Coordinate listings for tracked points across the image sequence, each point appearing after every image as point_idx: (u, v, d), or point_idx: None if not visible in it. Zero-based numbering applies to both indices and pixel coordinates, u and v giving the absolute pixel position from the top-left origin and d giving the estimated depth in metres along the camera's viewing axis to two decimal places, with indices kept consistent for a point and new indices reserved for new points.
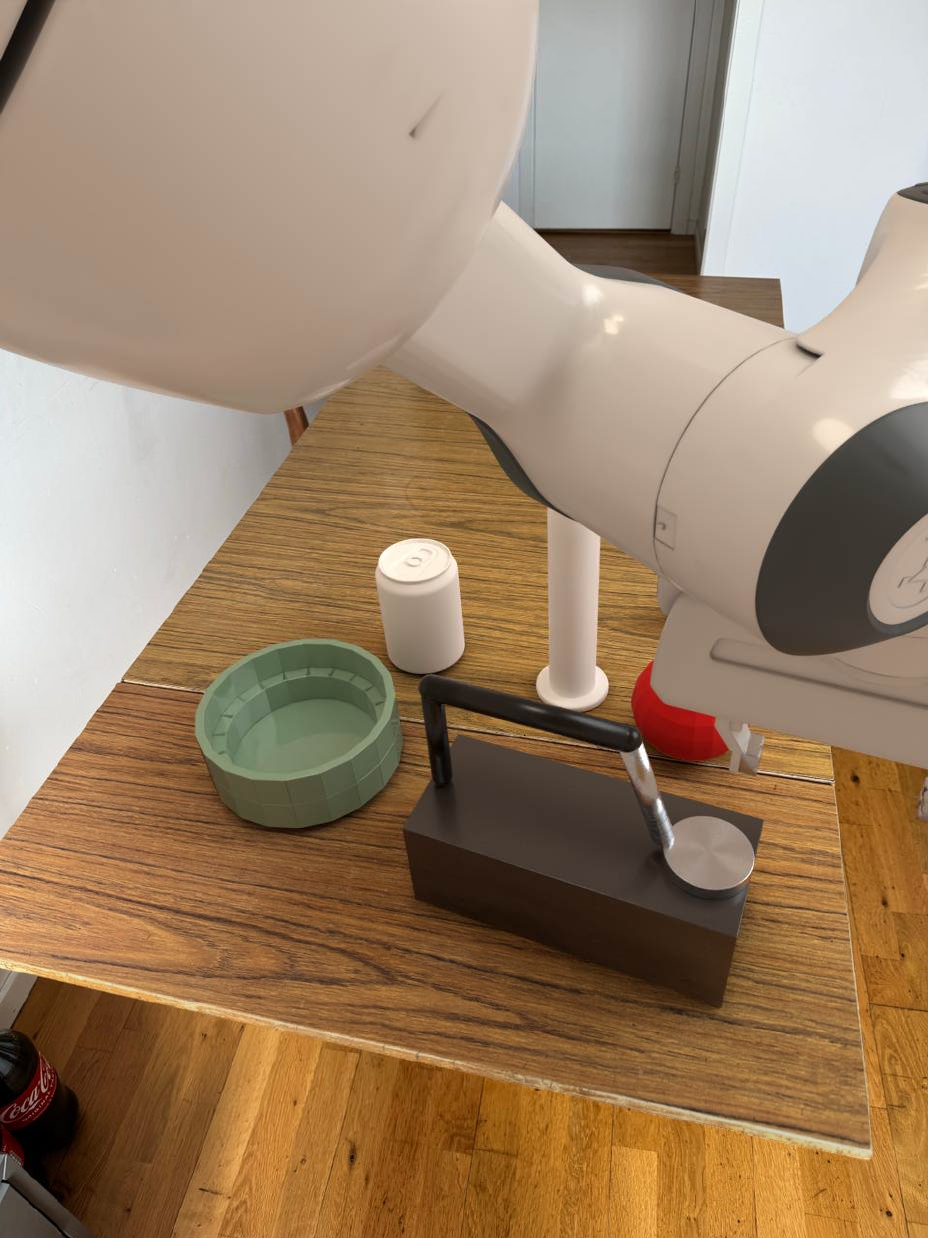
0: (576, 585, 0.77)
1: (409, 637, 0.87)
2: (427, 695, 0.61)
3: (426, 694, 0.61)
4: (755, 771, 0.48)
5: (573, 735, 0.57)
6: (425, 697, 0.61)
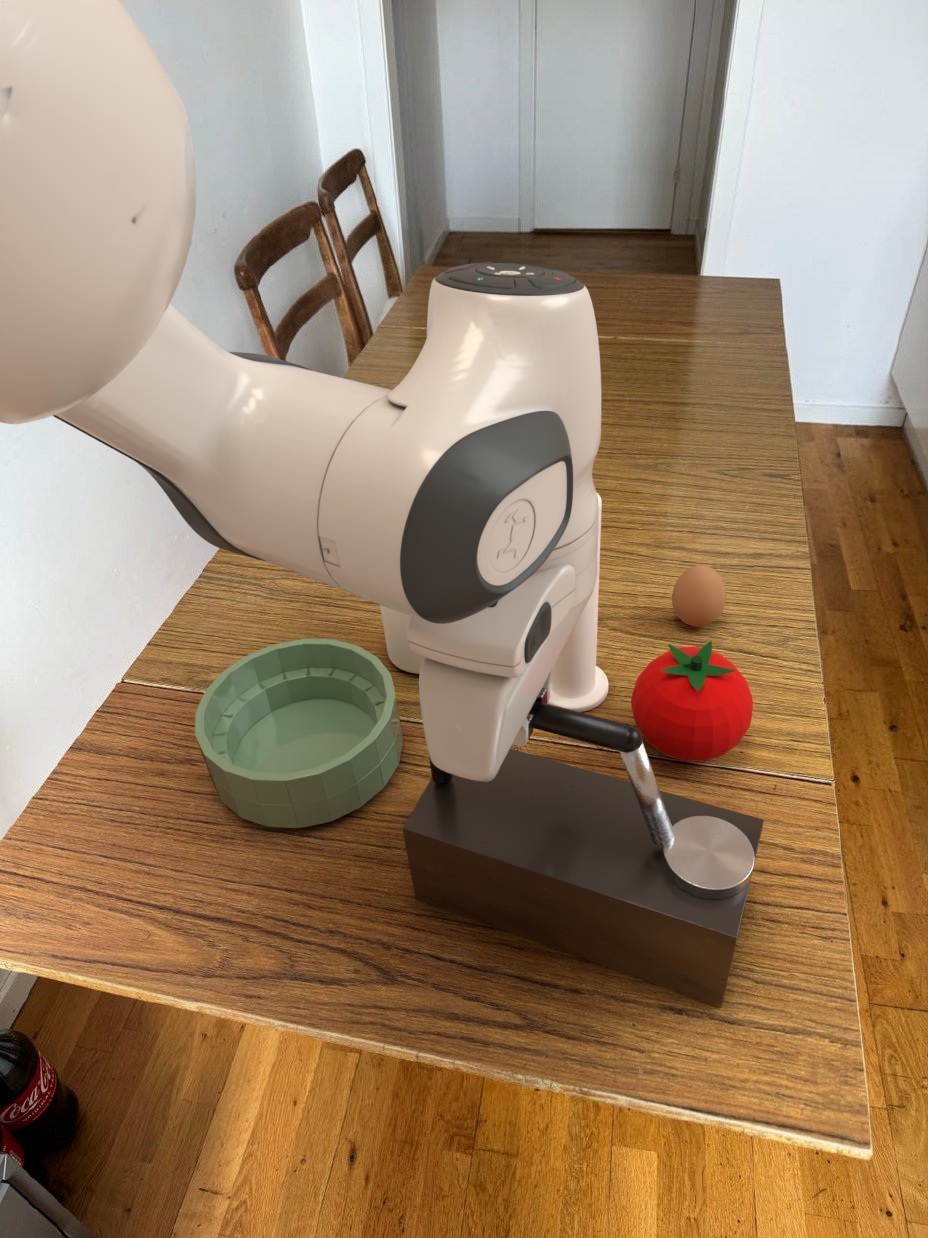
0: None
1: None
2: None
3: None
4: None
5: (573, 735, 0.57)
6: None
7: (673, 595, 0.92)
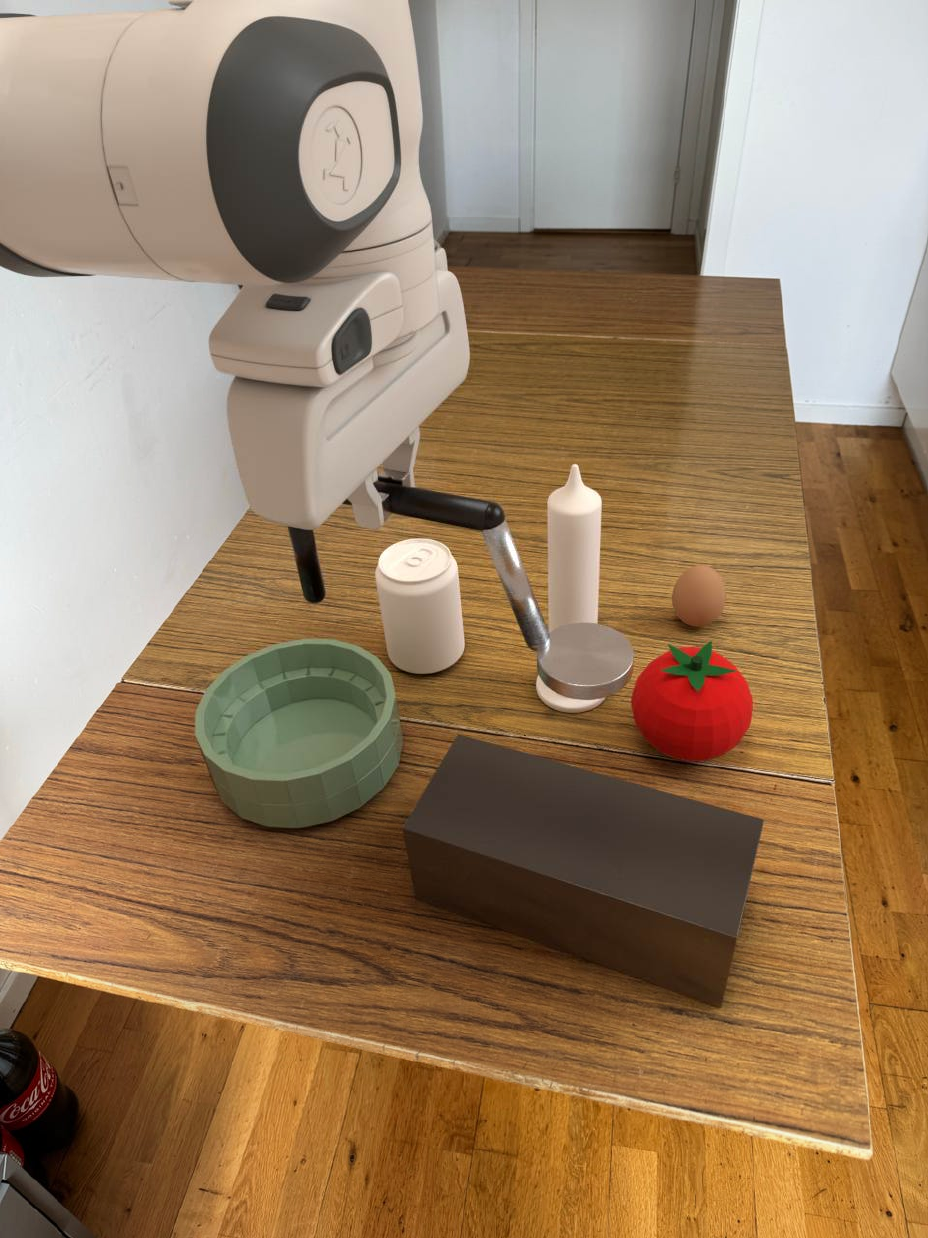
0: (576, 585, 0.77)
1: (409, 637, 0.87)
2: None
3: None
4: None
5: (431, 514, 0.53)
6: None
7: (673, 595, 0.92)
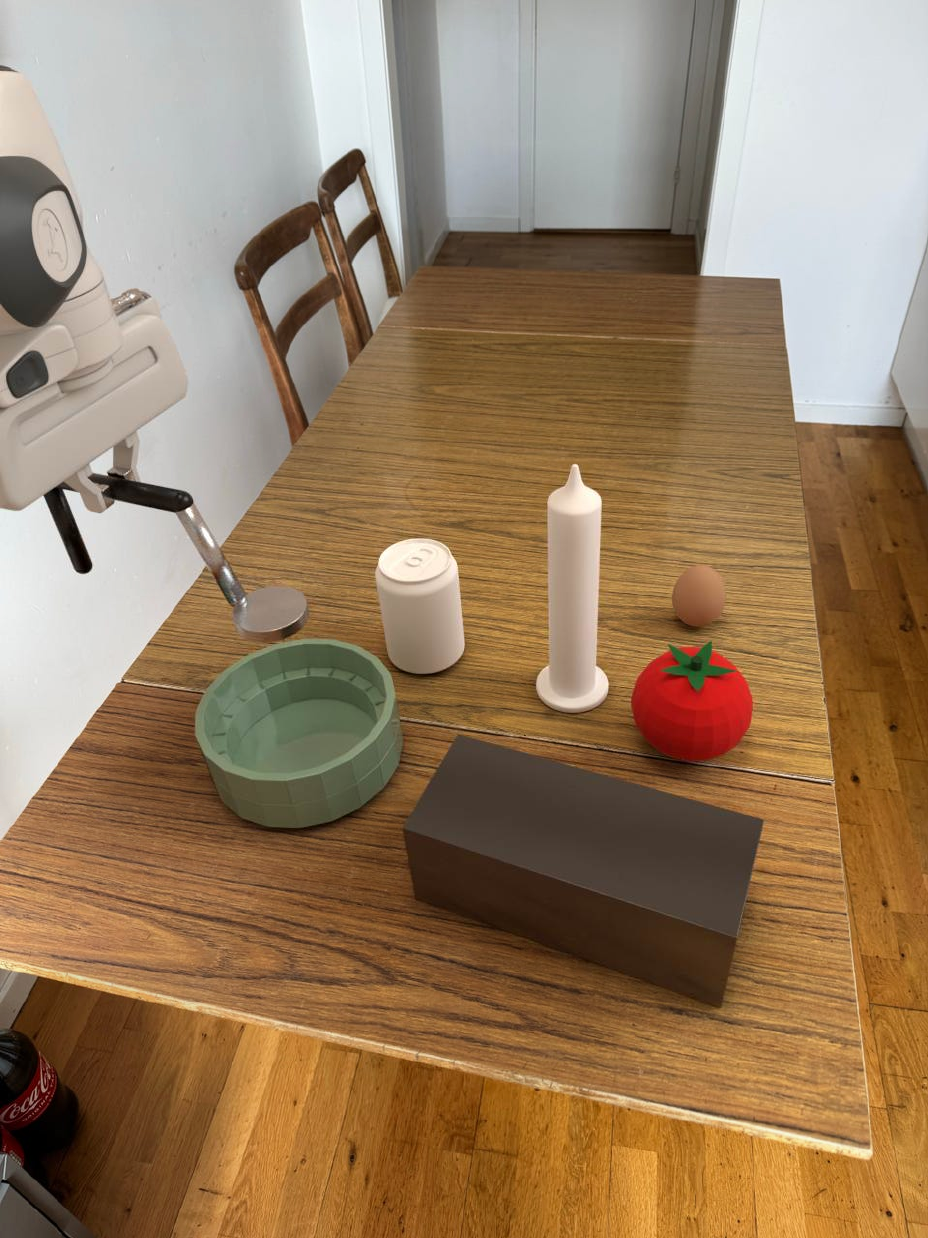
0: (576, 585, 0.77)
1: (409, 637, 0.87)
2: None
3: None
4: None
5: (139, 501, 0.69)
6: None
7: (673, 595, 0.92)
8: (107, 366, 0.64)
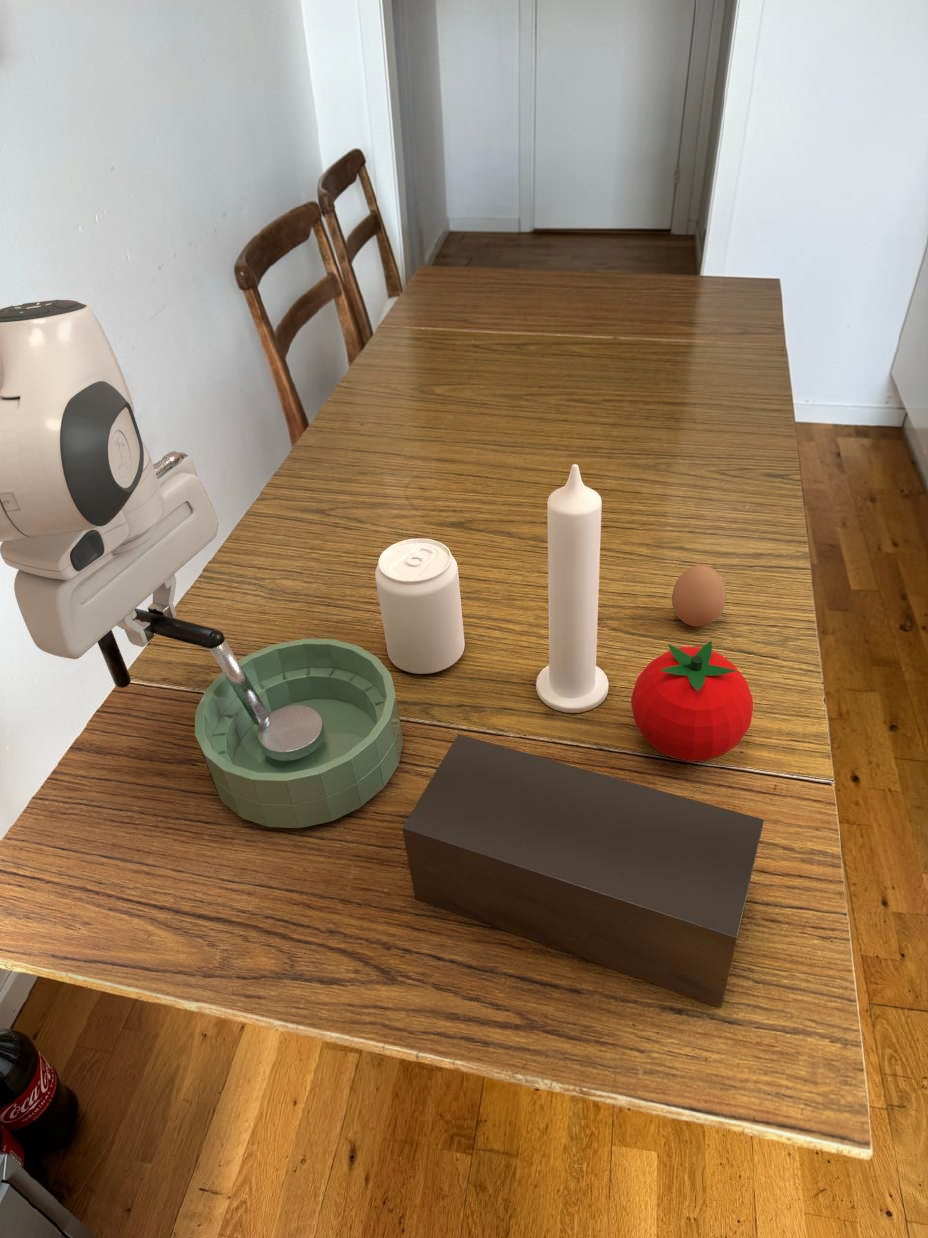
0: (576, 585, 0.77)
1: (409, 637, 0.87)
2: None
3: None
4: None
5: (177, 637, 0.79)
6: None
7: (673, 595, 0.92)
8: (151, 528, 0.74)
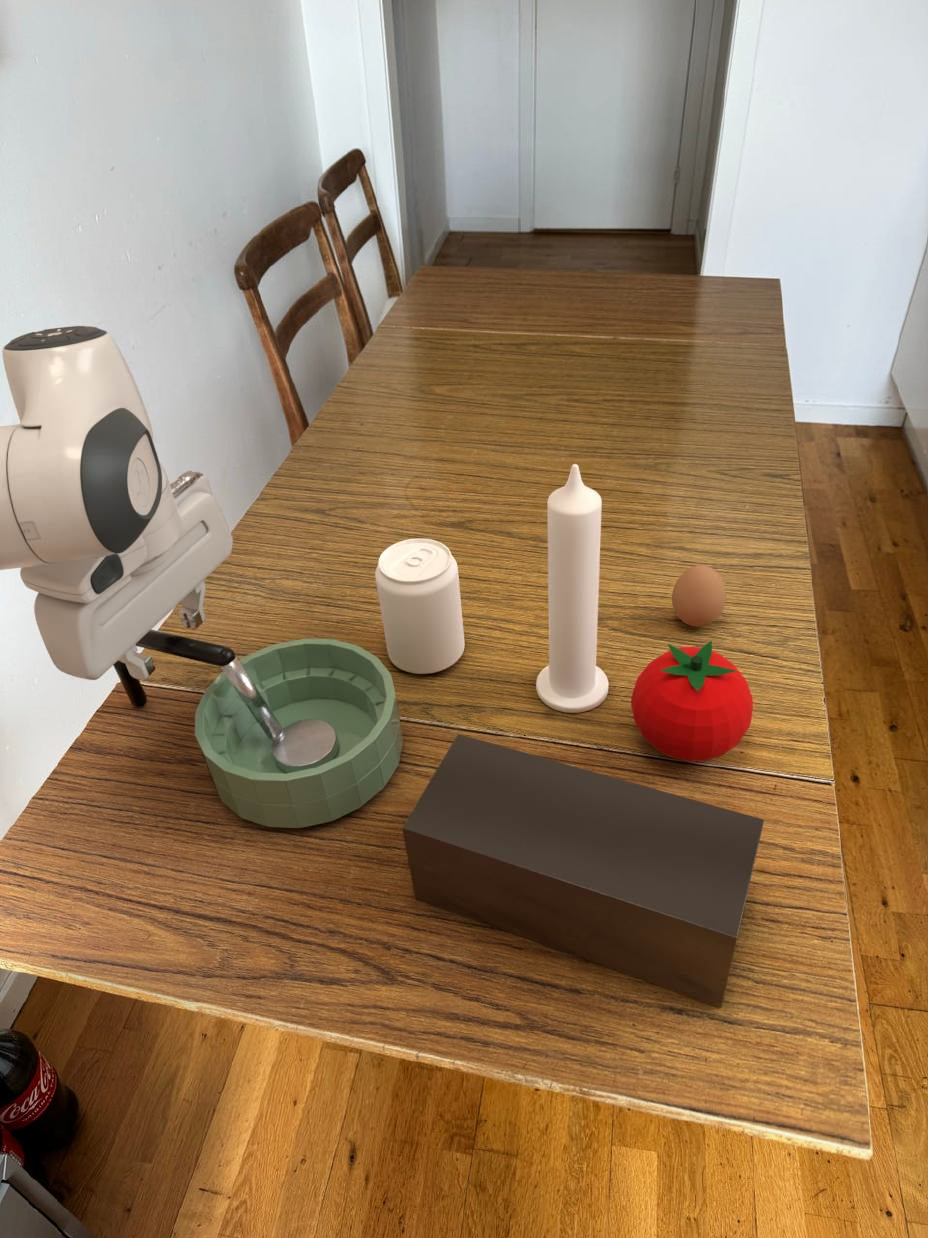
0: (576, 585, 0.77)
1: (409, 637, 0.87)
2: None
3: None
4: (181, 620, 0.84)
5: (188, 656, 0.79)
6: None
7: (673, 595, 0.92)
8: (169, 549, 0.74)
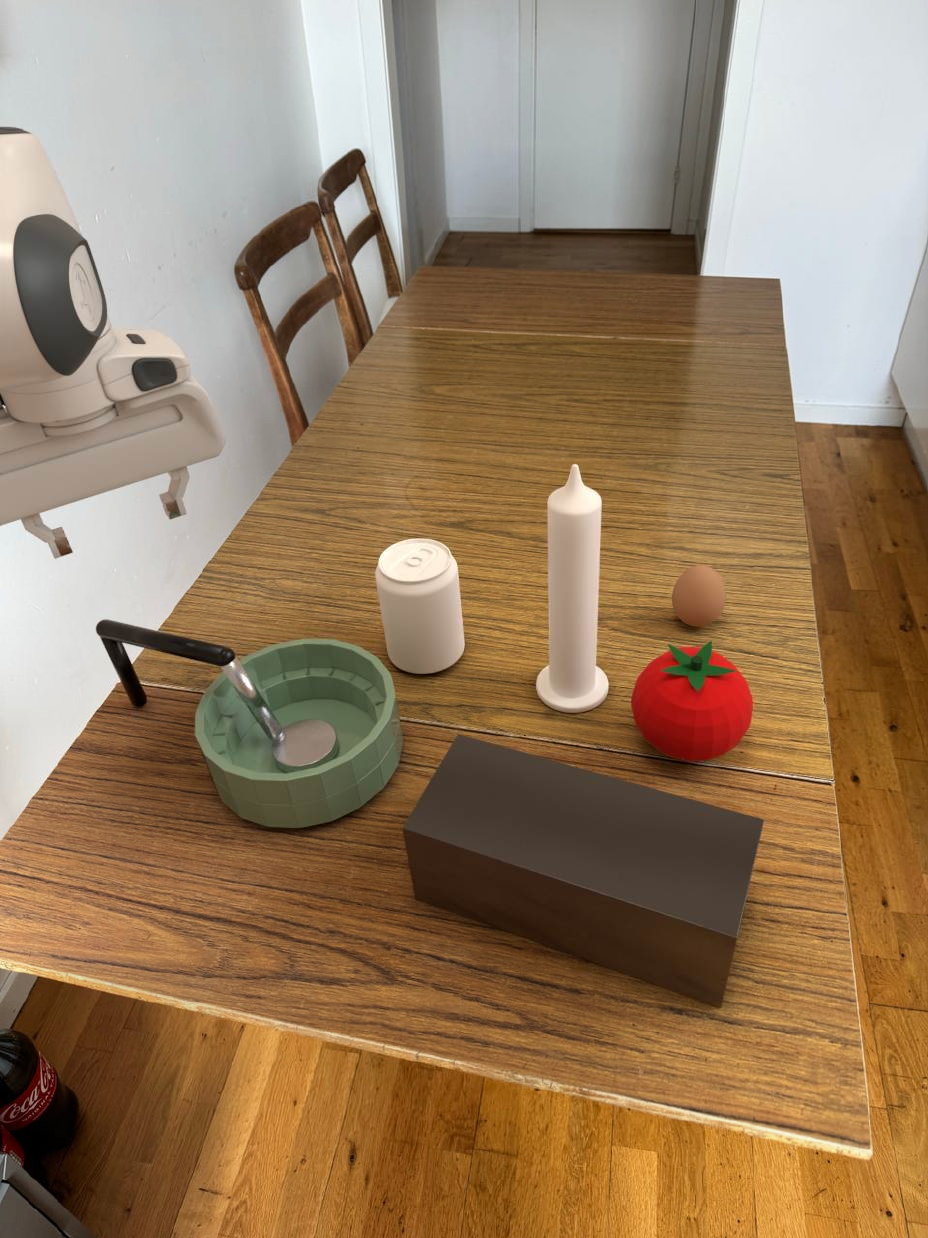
0: (576, 585, 0.77)
1: (409, 637, 0.87)
2: (100, 634, 0.83)
3: (99, 633, 0.83)
4: (70, 547, 0.71)
5: (188, 656, 0.79)
6: (100, 635, 0.84)
7: (673, 595, 0.92)
8: None
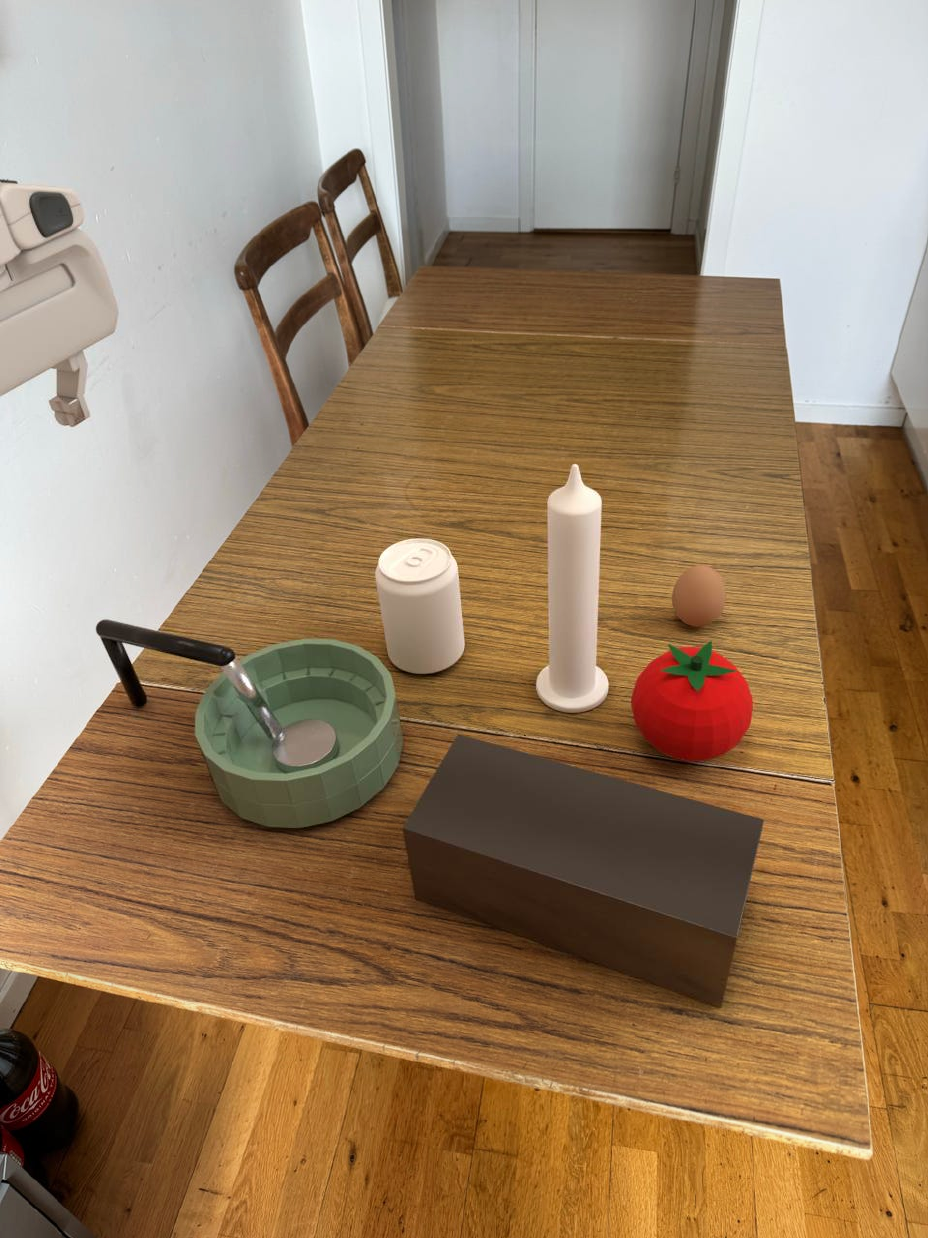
0: (576, 585, 0.77)
1: (409, 637, 0.87)
2: (100, 634, 0.83)
3: (99, 633, 0.83)
4: None
5: (188, 656, 0.79)
6: (100, 635, 0.84)
7: (673, 595, 0.92)
8: None
